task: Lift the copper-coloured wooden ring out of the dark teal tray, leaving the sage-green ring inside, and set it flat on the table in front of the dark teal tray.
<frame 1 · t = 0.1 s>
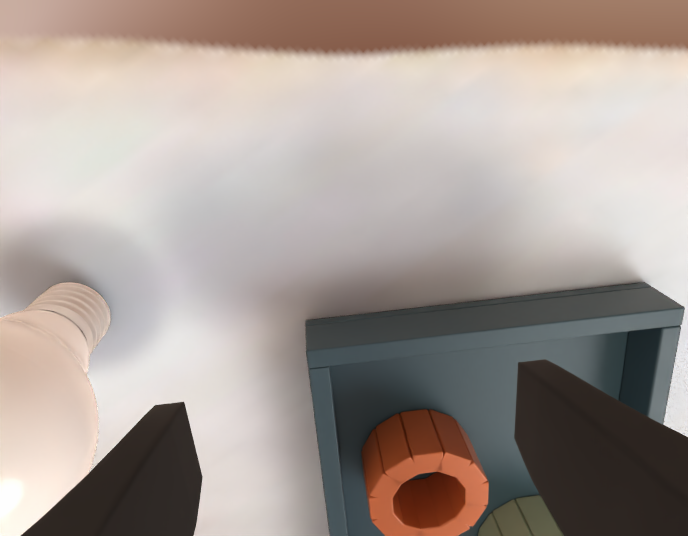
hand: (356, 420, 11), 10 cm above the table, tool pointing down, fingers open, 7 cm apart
dark teal tray: (475, 471, 25), on the table
lightbulb: (83, 304, 21), on the table
copper ring: (415, 453, 24), resting on dark teal tray
sage ring: (525, 533, 26), resting on dark teal tray
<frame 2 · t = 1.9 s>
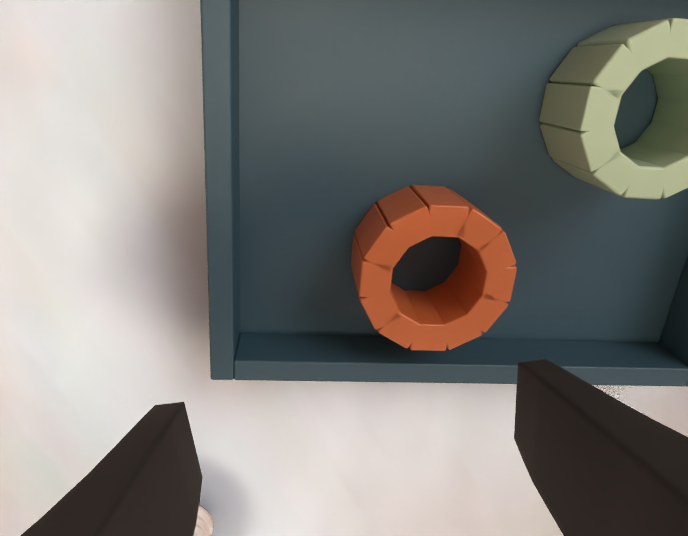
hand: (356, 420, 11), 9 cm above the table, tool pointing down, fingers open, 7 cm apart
dark teal tray: (481, 171, 18), on the table
lightbulb: (186, 509, 23), on the table
copper ring: (419, 252, 19), resting on dark teal tray
sage ring: (612, 107, 17), resting on dark teal tray
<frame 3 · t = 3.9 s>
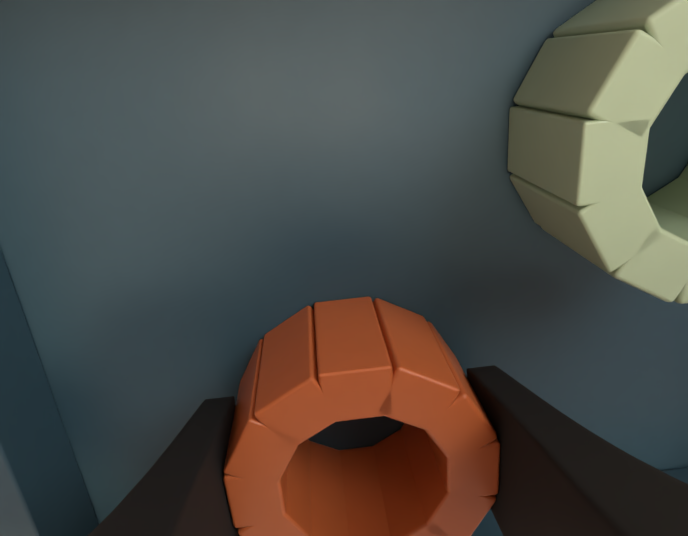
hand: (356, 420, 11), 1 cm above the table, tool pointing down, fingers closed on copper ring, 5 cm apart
dark teal tray: (428, 258, 11), on the table
copper ring: (351, 395, 12), point 1 cm above the table, touching dark teal tray, gripper
sage ring: (631, 127, 10), resting on dark teal tray
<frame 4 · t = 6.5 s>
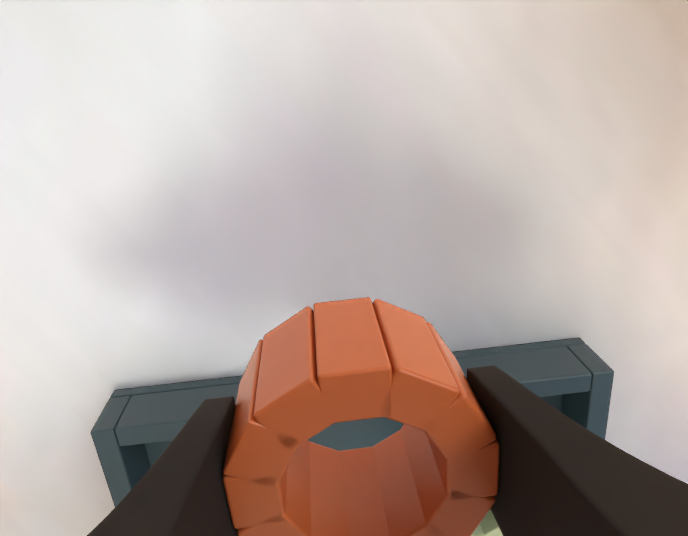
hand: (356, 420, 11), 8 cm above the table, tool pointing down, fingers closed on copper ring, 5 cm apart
dark teal tray: (363, 501, 23), on the table
copper ring: (351, 396, 12), point 8 cm above the table, touching gripper
sage ring: (454, 455, 22), resting on dark teal tray
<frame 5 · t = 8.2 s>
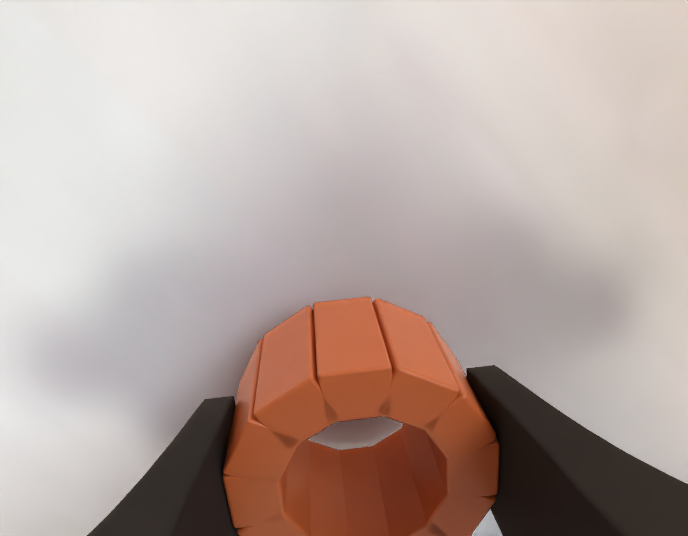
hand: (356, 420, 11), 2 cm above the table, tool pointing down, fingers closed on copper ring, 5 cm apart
copper ring: (351, 395, 12), point 1 cm above the table, touching gripper
when the fingers open (1 cm above the table, at t = 9.1 s): copper ring stays where it is, on the table.
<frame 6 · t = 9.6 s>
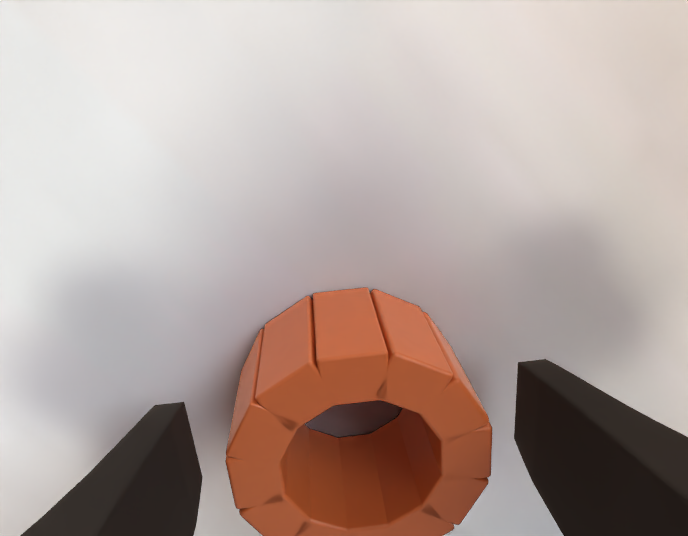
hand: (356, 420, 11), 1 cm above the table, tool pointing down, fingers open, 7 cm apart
copper ring: (349, 384, 12), on the table
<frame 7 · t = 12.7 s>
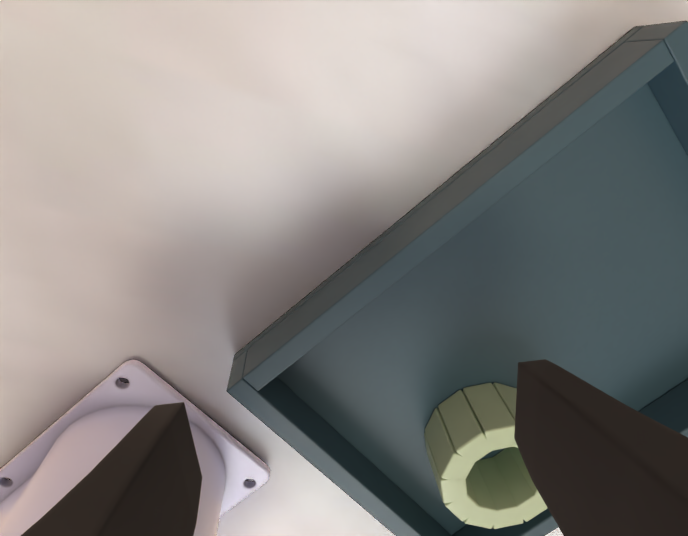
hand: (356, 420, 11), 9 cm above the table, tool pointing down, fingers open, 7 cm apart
dark teal tray: (522, 333, 21), on the table
sage ring: (481, 431, 22), resting on dark teal tray
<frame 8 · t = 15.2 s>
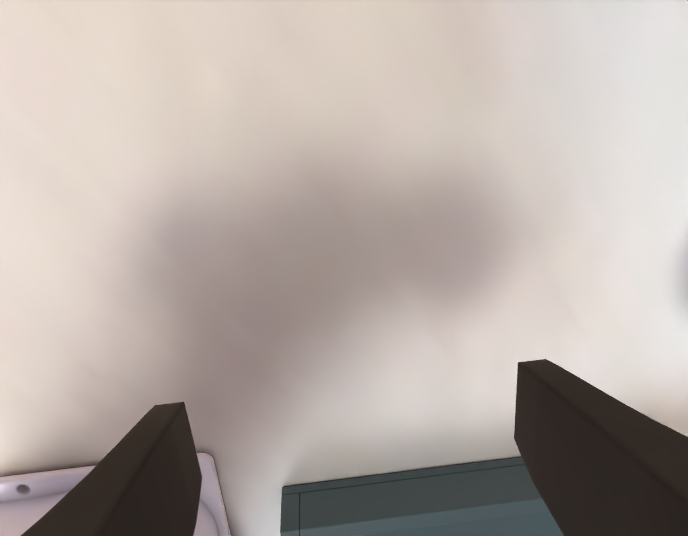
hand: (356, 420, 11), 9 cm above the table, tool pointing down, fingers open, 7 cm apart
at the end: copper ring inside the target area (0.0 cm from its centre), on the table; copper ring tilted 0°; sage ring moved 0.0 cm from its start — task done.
